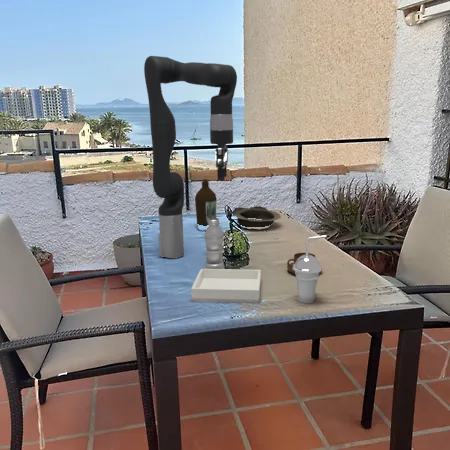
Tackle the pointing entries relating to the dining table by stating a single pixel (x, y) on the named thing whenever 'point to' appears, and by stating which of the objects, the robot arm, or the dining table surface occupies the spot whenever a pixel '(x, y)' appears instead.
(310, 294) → the cup with straw
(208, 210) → the olive oil
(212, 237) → the plastic bottle
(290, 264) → the cup and saucer
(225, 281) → the tray
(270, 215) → the stone bowl
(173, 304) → the dining table surface
